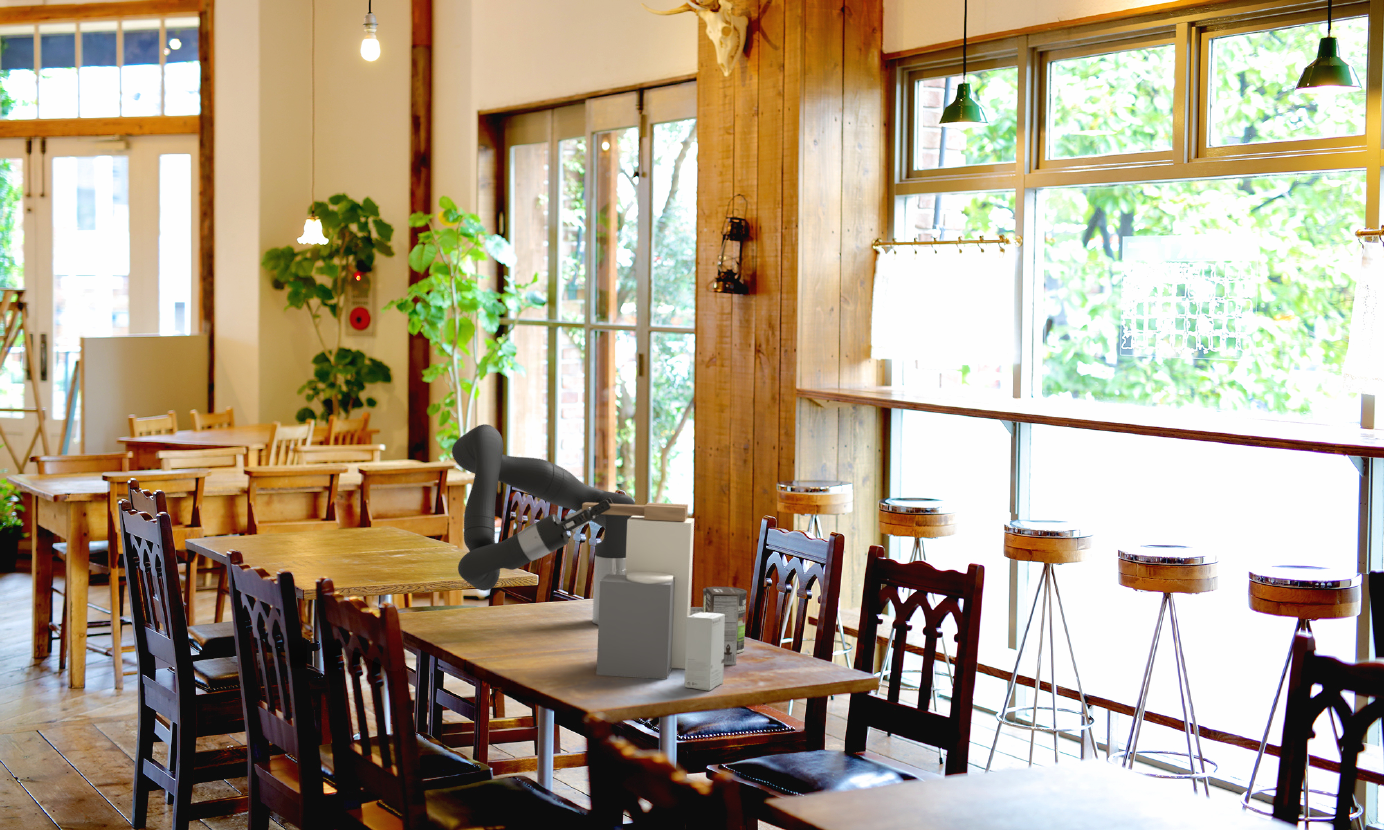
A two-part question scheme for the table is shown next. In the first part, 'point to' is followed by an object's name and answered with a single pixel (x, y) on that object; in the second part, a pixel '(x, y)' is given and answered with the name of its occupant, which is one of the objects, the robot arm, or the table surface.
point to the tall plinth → (665, 566)
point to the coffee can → (741, 617)
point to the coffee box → (728, 604)
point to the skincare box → (704, 650)
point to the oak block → (647, 510)
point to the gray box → (636, 625)
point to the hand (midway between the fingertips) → (610, 502)
